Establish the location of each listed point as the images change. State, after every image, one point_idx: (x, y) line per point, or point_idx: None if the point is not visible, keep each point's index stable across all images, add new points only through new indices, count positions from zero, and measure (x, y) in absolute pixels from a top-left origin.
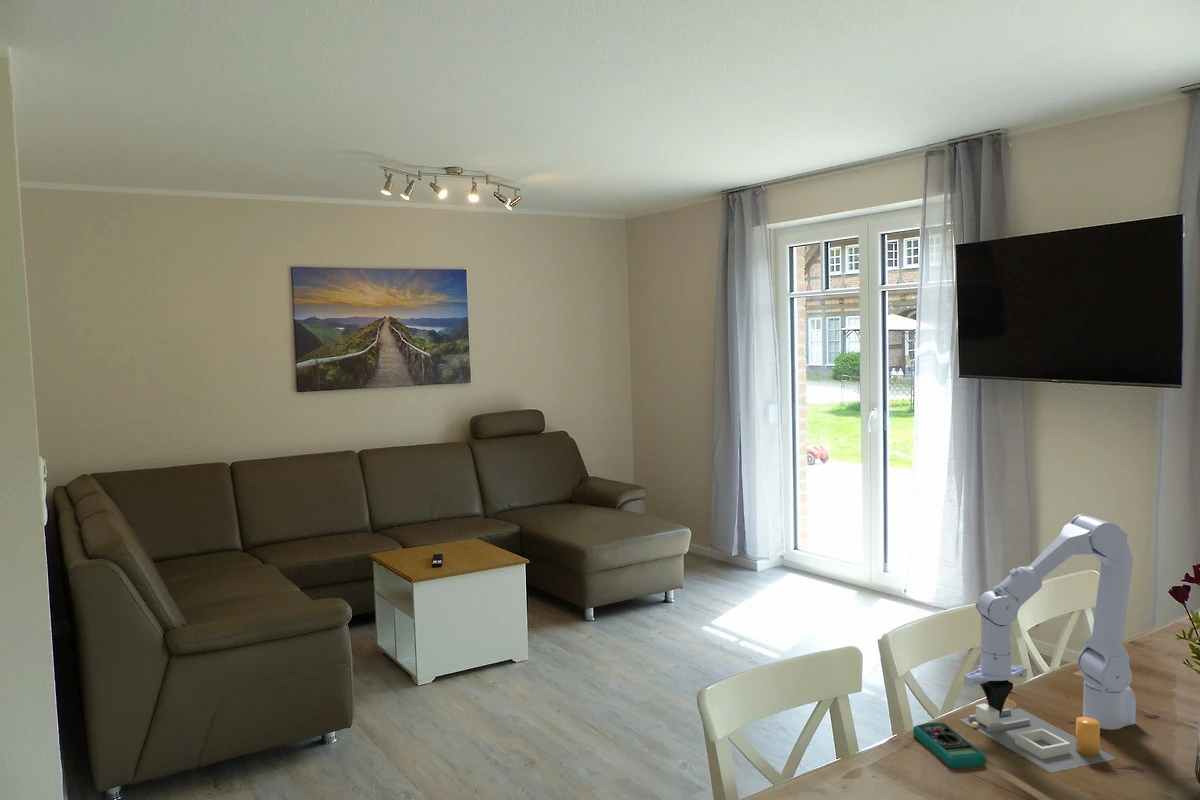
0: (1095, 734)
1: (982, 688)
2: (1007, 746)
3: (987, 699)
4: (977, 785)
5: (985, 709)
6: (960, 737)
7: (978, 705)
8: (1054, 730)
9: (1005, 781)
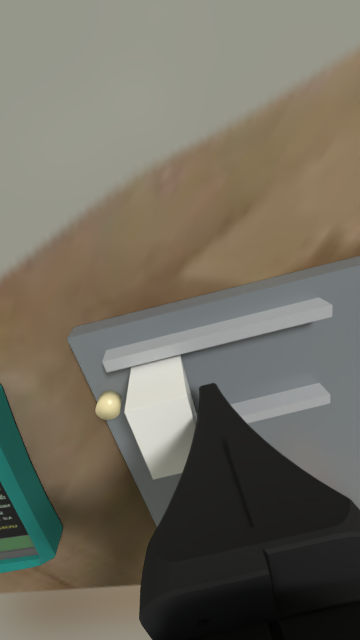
0: None
1: (171, 498)
2: (150, 503)
3: (195, 433)
4: (13, 582)
5: (151, 452)
6: (7, 496)
7: (137, 417)
8: (356, 429)
9: (80, 570)
